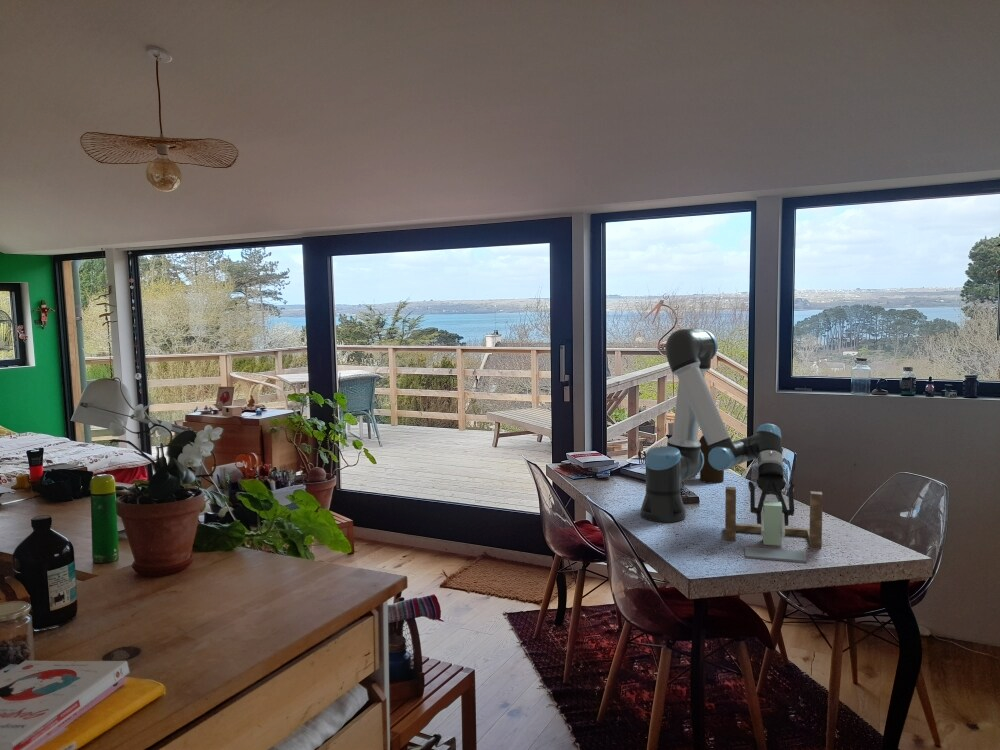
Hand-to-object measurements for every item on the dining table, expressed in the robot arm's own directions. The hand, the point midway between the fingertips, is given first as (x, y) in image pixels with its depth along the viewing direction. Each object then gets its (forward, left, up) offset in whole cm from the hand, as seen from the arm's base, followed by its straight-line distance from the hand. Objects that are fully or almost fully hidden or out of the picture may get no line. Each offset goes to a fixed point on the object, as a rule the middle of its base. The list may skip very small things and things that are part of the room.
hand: (773, 533), depth 204 cm
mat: (0, -8, -4) cm, 9 cm away
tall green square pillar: (0, +4, -4) cm, 5 cm away
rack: (0, +8, -4) cm, 9 cm away
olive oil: (-19, +82, -4) cm, 84 cm away
